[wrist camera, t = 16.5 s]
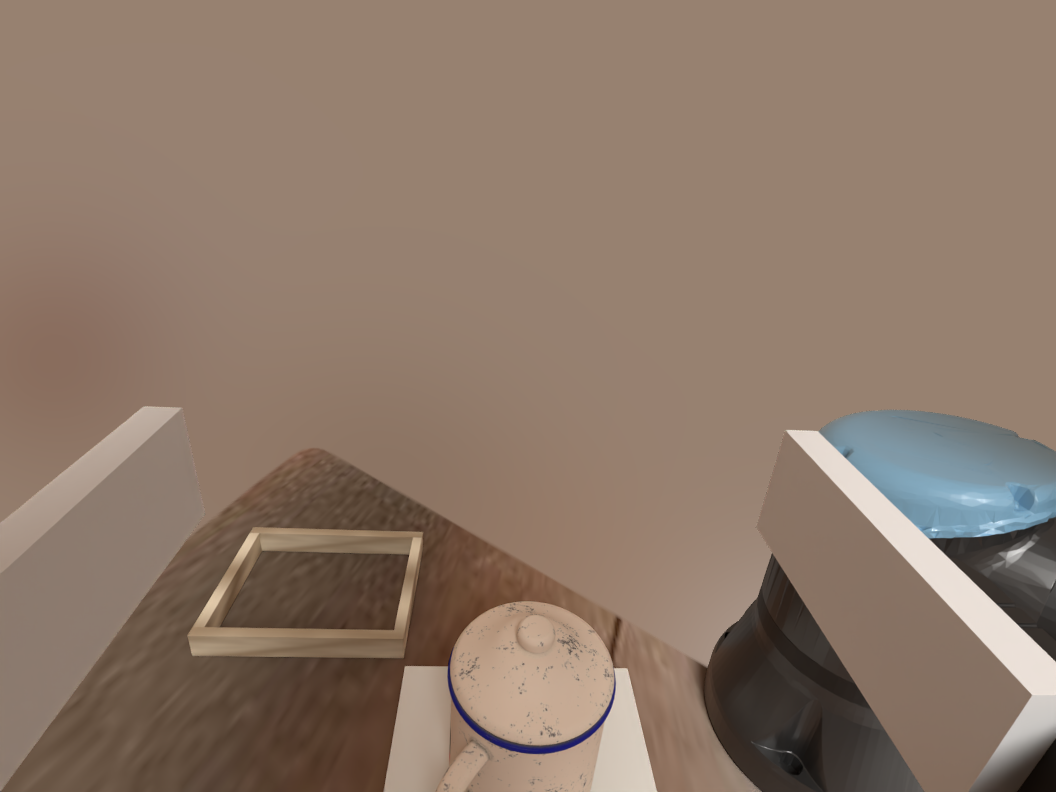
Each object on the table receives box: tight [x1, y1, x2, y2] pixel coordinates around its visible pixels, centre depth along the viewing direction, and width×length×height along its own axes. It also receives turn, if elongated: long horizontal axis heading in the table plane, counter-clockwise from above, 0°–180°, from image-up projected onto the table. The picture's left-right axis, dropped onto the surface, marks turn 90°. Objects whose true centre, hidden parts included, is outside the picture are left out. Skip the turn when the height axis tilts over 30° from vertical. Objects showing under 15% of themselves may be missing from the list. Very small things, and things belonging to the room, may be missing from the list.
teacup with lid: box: [435, 601, 616, 792], centre depth 31 cm, size 12×9×12 cm
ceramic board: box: [384, 666, 657, 792], centre depth 34 cm, size 16×16×2 cm
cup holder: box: [188, 527, 423, 658], centre depth 47 cm, size 12×15×2 cm
